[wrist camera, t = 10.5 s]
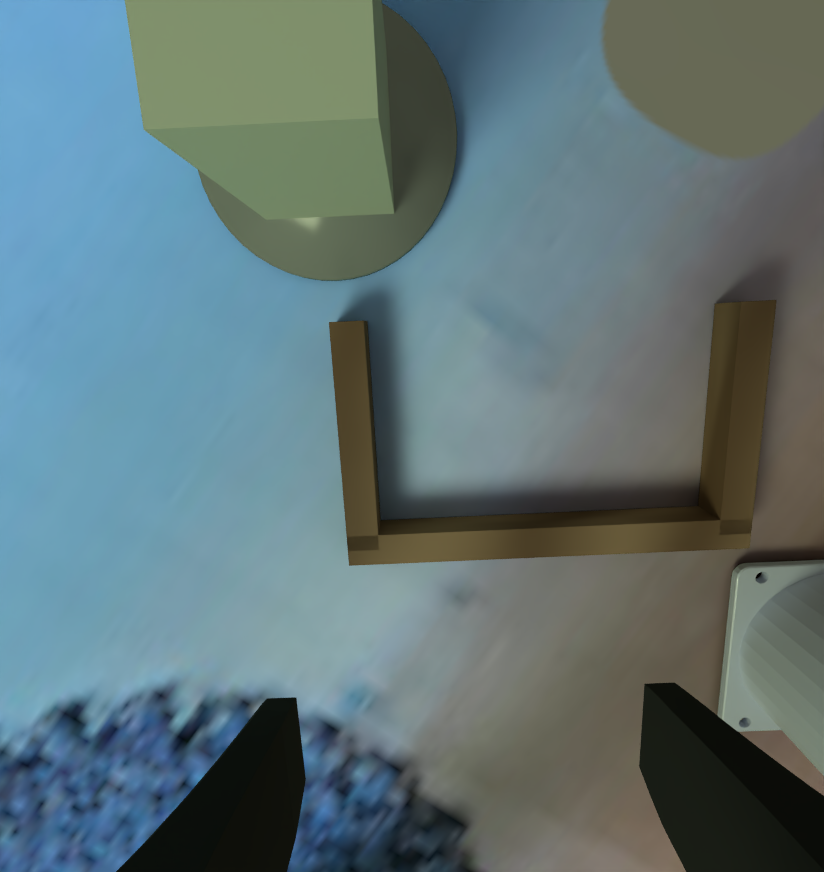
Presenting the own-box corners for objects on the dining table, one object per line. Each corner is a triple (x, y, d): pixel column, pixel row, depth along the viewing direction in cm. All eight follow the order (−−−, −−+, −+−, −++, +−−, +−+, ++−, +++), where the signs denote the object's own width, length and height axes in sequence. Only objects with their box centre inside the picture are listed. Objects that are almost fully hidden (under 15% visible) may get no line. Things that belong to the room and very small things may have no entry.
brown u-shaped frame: (747, 302, 18) (776, 300, 17) (725, 532, 20) (749, 548, 19) (335, 322, 18) (329, 322, 17) (353, 548, 20) (349, 565, 19)
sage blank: (386, 49, 16) (360, -214, 8) (394, 213, 17) (378, 118, 9) (250, 56, 16) (96, -199, 8) (266, 219, 17) (143, 129, 9)
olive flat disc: (451, -12, 16) (452, -23, 16) (459, 274, 18) (460, 273, 18) (180, 4, 16) (173, -6, 16) (216, 287, 18) (211, 285, 18)
